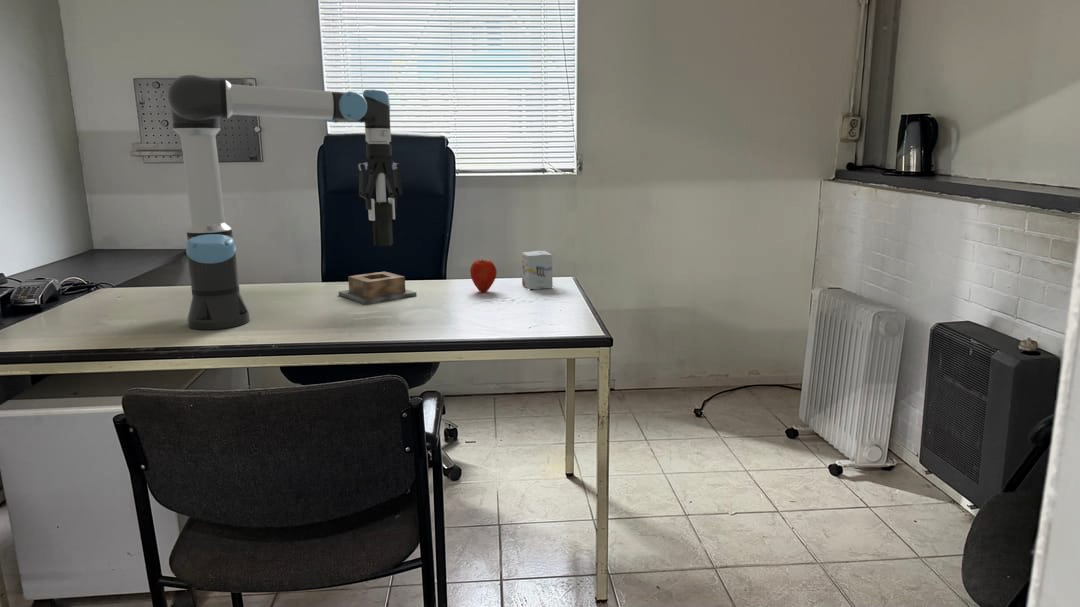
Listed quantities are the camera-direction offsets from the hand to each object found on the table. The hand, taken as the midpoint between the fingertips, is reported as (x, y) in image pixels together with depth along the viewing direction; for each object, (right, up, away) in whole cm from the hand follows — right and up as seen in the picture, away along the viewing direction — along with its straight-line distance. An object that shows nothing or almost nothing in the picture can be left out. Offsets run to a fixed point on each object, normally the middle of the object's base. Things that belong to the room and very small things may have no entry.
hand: (382, 219), depth 212 cm
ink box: (+48, -21, +20) cm, 56 cm away
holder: (-3, -24, +7) cm, 25 cm away
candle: (0, -8, +2) cm, 8 cm away
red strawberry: (+31, -22, +12) cm, 40 cm away
